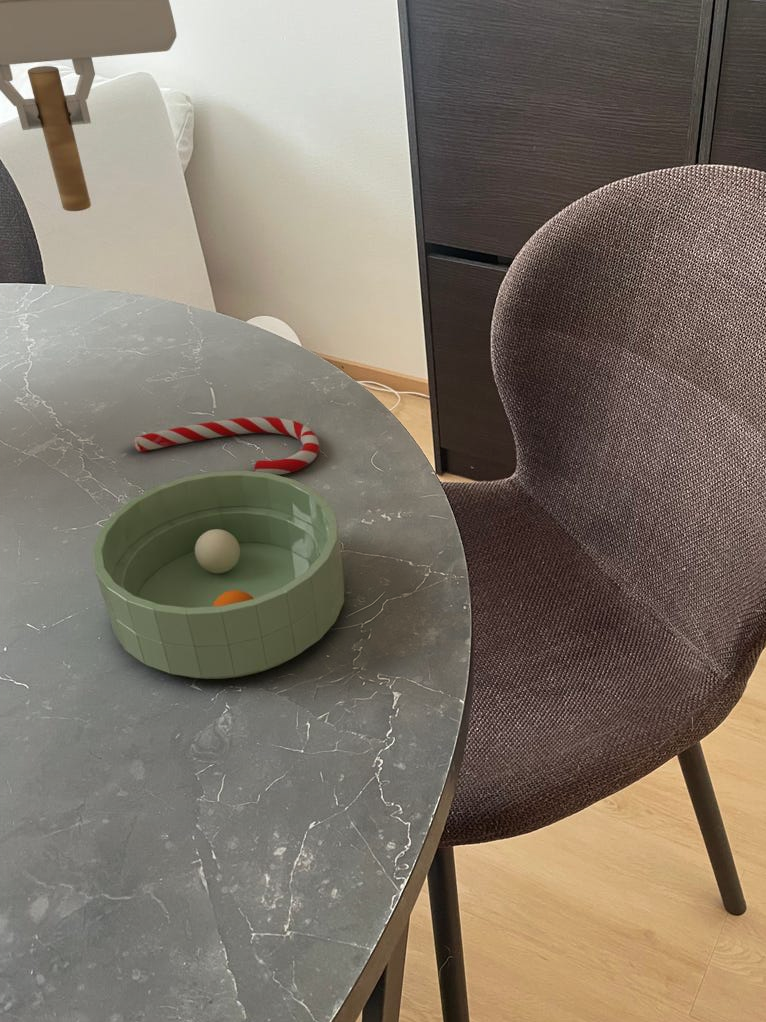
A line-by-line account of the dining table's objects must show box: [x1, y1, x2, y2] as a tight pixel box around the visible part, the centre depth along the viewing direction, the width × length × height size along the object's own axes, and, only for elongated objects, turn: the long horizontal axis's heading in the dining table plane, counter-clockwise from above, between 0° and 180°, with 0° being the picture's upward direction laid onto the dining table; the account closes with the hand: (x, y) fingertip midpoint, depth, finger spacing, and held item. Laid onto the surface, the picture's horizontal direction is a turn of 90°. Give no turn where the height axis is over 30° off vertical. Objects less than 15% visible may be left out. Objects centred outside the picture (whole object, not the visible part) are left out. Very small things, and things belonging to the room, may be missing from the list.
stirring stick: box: [27, 65, 92, 212], centre depth 81 cm, size 2×2×10 cm
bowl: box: [91, 470, 345, 680], centre depth 68 cm, size 15×15×6 cm
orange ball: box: [213, 590, 254, 607], centre depth 66 cm, size 3×3×3 cm
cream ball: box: [195, 529, 240, 573], centre depth 71 cm, size 3×3×3 cm
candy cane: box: [133, 416, 320, 476], centre depth 84 cm, size 8×1×15 cm
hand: (56, 125), depth 80 cm, fingers closed on stirring stick, 2 cm apart
